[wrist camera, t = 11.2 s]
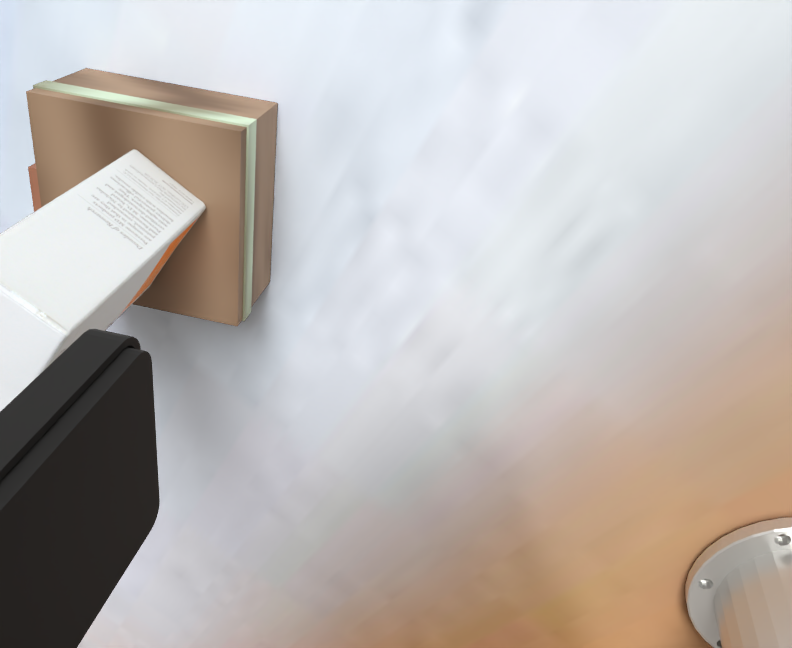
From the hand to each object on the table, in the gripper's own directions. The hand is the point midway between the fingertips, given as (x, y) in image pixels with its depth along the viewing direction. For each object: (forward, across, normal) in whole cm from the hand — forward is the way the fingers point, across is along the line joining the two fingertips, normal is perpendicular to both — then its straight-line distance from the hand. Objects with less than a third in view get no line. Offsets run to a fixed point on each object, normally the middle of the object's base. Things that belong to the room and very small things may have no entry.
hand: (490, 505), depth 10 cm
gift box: (+28, +17, +9) cm, 34 cm away
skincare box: (+24, +17, +9) cm, 30 cm away
